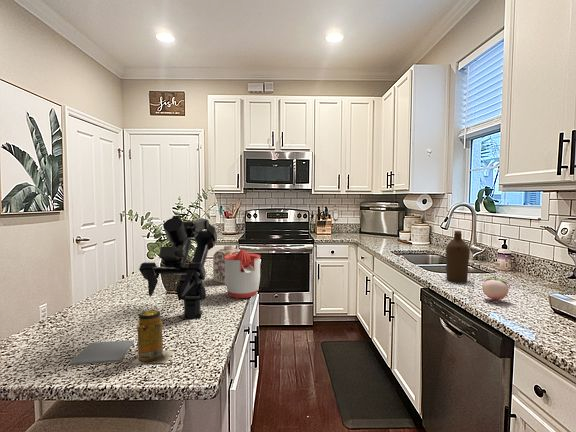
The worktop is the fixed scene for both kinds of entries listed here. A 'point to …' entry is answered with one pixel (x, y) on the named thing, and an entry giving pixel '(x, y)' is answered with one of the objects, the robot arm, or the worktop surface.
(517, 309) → the worktop surface
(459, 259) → the olive oil
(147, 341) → the condiment
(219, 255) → the decorative jar
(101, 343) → the mat
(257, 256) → the citrus juicer
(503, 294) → the decorative fruit
